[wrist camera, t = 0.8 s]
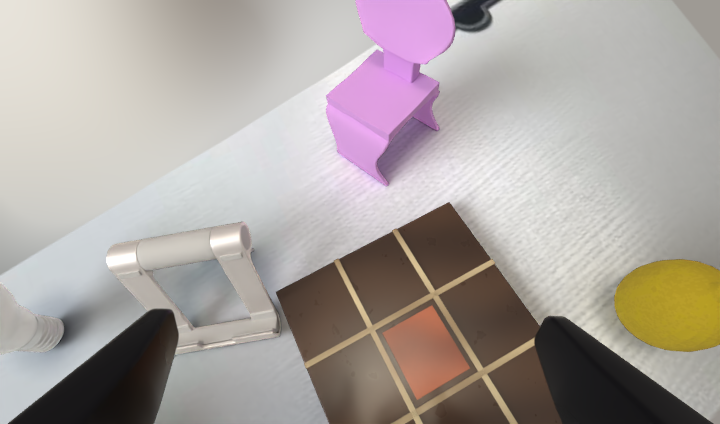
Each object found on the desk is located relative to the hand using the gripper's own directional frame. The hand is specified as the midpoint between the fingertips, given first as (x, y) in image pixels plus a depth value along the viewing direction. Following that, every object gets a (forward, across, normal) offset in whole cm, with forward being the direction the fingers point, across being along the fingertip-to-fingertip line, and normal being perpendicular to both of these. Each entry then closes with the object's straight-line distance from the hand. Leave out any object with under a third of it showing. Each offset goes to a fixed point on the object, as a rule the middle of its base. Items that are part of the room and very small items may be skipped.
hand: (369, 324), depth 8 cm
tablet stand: (+16, +8, +16) cm, 24 cm away
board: (+10, -7, +15) cm, 20 cm away
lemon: (+11, -22, +11) cm, 27 cm away
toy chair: (+27, -5, +5) cm, 28 cm away
